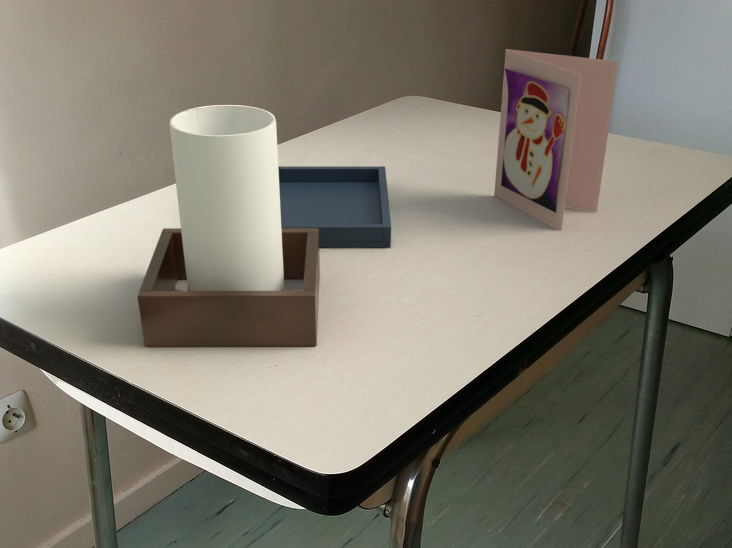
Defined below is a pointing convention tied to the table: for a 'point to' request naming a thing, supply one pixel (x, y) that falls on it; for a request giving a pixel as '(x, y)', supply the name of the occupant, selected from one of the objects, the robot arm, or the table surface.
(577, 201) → the greeting card
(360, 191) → the tray
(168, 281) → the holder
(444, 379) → the table surface
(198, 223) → the cup
